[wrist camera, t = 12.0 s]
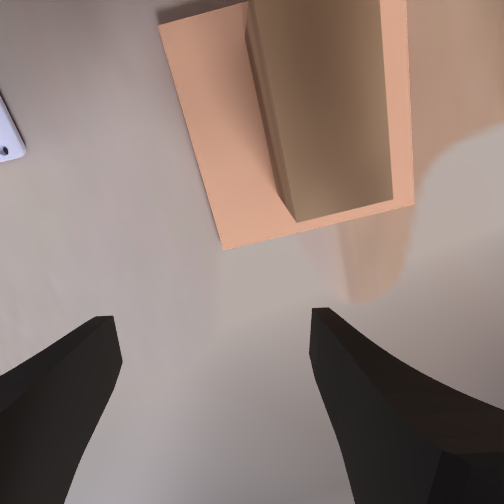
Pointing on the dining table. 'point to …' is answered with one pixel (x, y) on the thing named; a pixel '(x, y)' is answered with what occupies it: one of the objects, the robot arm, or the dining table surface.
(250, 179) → the terracotta tile
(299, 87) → the walnut block
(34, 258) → the dining table surface
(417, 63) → the dining table surface
